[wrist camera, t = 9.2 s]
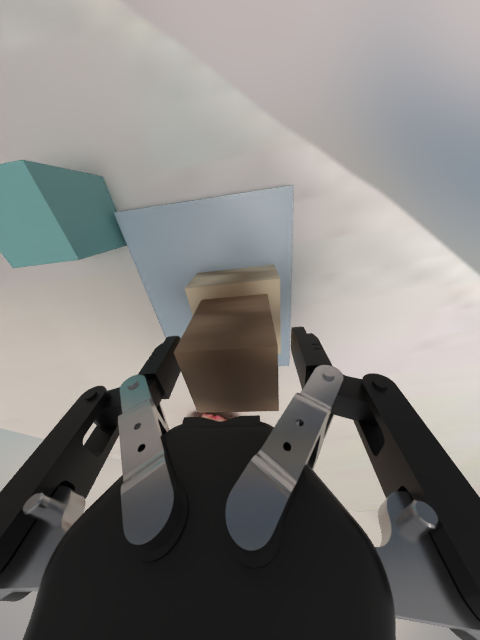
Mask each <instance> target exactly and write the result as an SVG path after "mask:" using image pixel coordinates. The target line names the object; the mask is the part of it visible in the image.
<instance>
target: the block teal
mask: <svg viewBox="0 0 480 640" xmlns="http://www.w3.org/2000/svg"><path fill="white" fill-rule="evenodd" d="M115 212H117V210H116V208H115V206H114V203H113V201H112V198H111V196H110V193H109V191H108V188H107V186H106V183H105V181H104V179H103V177H102V176H97V175H93V174H88V173H83V172H78V171H74V170H69V169H64V168H59V167H54V166H50V165H45V164H40V163H35V162H31V161H26V160H19V161H14V162H9V163H4V164H0V252H1V253H2V255H3V256H4V257H5V258H6V260H7V261H8V262H9V264H10V265H11V266H12V268H18V267H26V266H33V265H41V264H49V263H57V262H65V261H73V260H80V259H83V258H86V257H90V256H93V255H96V254H99V253H103V252H106V251H109V250H113V249H116V248H119V247H122V246H126V245H127V243H126V241H125V239H124V236H123V234H122V231H121V229H120V227H119V224H118V222H117V219H116V217H115V215H114V213H115Z"/></svg>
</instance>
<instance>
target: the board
mask: <svg viewBox="0 0 480 640" xmlns="http://www.w3.org/2000/svg"><path fill="white" fill-rule="evenodd" d="M114 215H115V217H116V219H117V222H118V224H119V227H120V229H121V231H122V234H123V236H124V239H125V241H126V243H127V246H128V248H129V251H130V253H131V255H132V258H133V260H134V263H135V265H136V267H137V270H138V272H139V275H140V277H141V279H142V282H143V284H144V287H145V289H146V291H147V294H148V296H149V299H150V301H151V303H152V306H153V308H154V311H155V313H156V315H157V318H158V320H159V323H160V325H161V327H162V330H163V332H164V335H165V337H166V338H167V337H168V336H179V337H180V339H181V338H182V336H183V334H184V332H185V330H186V328H187V326H188V324H189V322H190V321H191V319H192V317H193V315H192V312H191V308H190V305H189V302H188V298H187V295H186V292H185V287H186V286H187V285H188V284H189V283H190V281H191V280H192V279H193V278H194V276H195V275H196V274H197V273H202V272H211V271H220V270H229V269H238V268H247V267H256V266H265V265H275V268H276V270H277V273H278V275H279V277H280V317H281V354H278V366H289V351H290V307H291V262H292V218H293V185H290V186H283V187H277V188H270V189H264V190H257V191H251V192H244V193H238V194H231V195H225V196H218V197H212V198H205V199H199V200H192V201H186V202H179V203H173V204H166V205H160V206H154V207H147V208H141V209H134V210H128V211H121V212H115V213H114Z"/></svg>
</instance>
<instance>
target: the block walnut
mask: <svg viewBox="0 0 480 640" xmlns="http://www.w3.org/2000/svg"><path fill="white" fill-rule="evenodd" d="M174 355H175V357H176V360H177V362H178V365H179V367H180V370H181V372H182V375H183V377H184V379H185V382H186V384H187V387H188V389H189V392H190V394H191V397H192V399H193V402H194V404H195V407H196V409H197V412H198V413H208V412H249V411H279V399H278V345H277V340H276V335H275V330H274V325H273V320H272V315H271V310H270V305H269V300H268V295H267V294H258V295H247V296H236V297H225V298H214V299H203V300H201V302H200V304H199V305H198V307H197V309H196V311H195V313H194V315H193V317H192V319H191V321H190V322H189V324H188V326H187V328H186V330H185V332H184V334H183V336H182V338H181V339H180V341H179V343H178V345H177V347H176V349H175V351H174Z"/></svg>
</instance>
